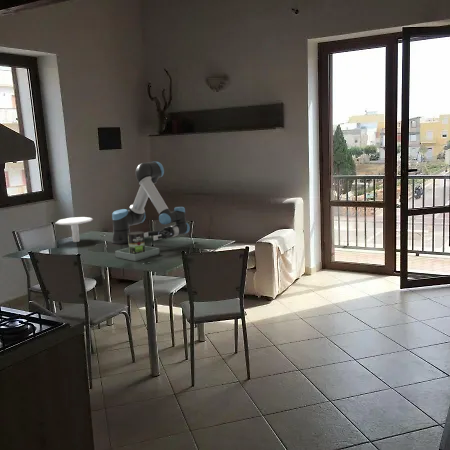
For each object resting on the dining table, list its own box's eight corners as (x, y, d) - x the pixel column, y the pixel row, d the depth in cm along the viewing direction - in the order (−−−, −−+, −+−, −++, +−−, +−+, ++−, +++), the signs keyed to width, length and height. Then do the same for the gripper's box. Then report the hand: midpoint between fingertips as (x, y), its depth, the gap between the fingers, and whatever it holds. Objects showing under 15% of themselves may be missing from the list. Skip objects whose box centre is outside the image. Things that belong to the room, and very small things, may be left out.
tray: (115, 257, 313) (115, 251, 312) (139, 250, 328) (139, 244, 327) (135, 261, 300) (134, 254, 299) (159, 254, 315) (159, 248, 314)
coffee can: (147, 254, 311) (145, 233, 309) (132, 256, 307) (130, 235, 304) (142, 251, 320) (140, 230, 318) (127, 253, 316) (125, 232, 313)
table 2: (81, 246, 351) (78, 223, 348) (49, 244, 360) (46, 222, 357) (102, 237, 377) (100, 216, 374) (72, 237, 386) (69, 216, 383)
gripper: (183, 238, 326) (159, 244, 311) (159, 235, 343) (135, 240, 327) (183, 227, 325) (159, 233, 309) (158, 224, 341) (134, 229, 326)
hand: (146, 237), depth 318 cm, fingers open, 13 cm apart
